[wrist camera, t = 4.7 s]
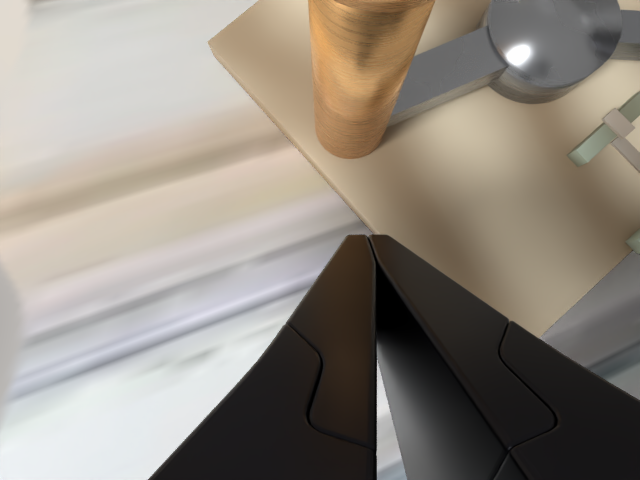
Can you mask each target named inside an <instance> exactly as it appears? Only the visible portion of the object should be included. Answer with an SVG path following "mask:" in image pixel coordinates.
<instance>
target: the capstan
mask: <svg viewBox="0 0 640 480" xmlns="http://www.w3.org/2000/svg"><path fill="white" fill-rule="evenodd" d="M435 1H436V0H308V9H309V27H310V45H311V63H312V81H313V99H314V117H315V131H316V135H317V138H318V140H319V142H320V144H321V145H322V146H323V147H324V148H325V149H326V150H327V151H328V152H329V153H331V154H332V155H334V156H337V157H339V158H343V159H357V158H361V157H363V156H366V155H368V154H369V153H371V152H372V151H373V150H374V149H375V148H376V147H377V146H378V145H379V143H380V142H381V140H382V137H383V135H384V132H385V130H386V127H389V126H391V125H393V124H396V123H398V122H400V121H403V120H405V119H407V118H410V117H412V116H414V115H417V114H419V113H421V112H424V111H426V110H428V109H431V108H433V107H435V106H438V105H440V104H442V103H445V102H447V101H449V100H452V99H454V98H456V97H459V96H461V95H463V94H466V93H468V92H470V91H473V90H475V89H477V88H480V87H482V86H484V85H488V86H489V87H490V88H492V89H493V90H494V91H495V92H497V93H498V94H500V95H501V96H503V97H505V98H507V99H510V100H512V101H515V102H519V103H525V104H541V103H547V102H550V101H553V100H556V99H558V98H560V97H562V96H564V95H565V94H567V93H568V92H569V91H571V90H572V89H573V88H574V87H576V86H577V85H578V84H579V83H581V82H582V81H583V80H584V79H586V78H587V77H588V76H589V75H591V74H592V73H593V72H594V71H596V70H597V69H598V68H599V67H601V66H602V65H603V64H604V63H605V62H606V61H607V60H608V59H618V60H635V61H640V11H636V10H620V6H619V4H618V1H617V0H491V1H490V3H489V5H488V7H487V8H486V10H485V12H484V14H483V15H482V17H481V19H480V20H479V22H478V24H477V26H476V28H475V31H473V32H471V33H468V34H466V35H464V36H461V37H459V38H456V39H454V40H452V41H449V42H447V43H445V44H442V45H440V46H437V47H435V48H433V49H430V50H428V51H426V52H423V53H421V54H418V55H416V56H414V55H415V52H416V50H417V47H418V44H419V42H420V39H421V37H422V34H423V32H424V29H425V26H426V24H427V21H428V19H429V16H430V13H431V11H432V8H433V6H434V3H435Z"/></svg>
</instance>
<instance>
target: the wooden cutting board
mask: <svg viewBox="0 0 640 480" xmlns="http://www.w3.org/2000/svg"><path fill="white" fill-rule="evenodd" d="M490 1H491V0H436V1H435V3H434V6H433V8H432V11H431V13H430V16H429V19H428V21H427V24H426V26H425V29H424V32H423V34H422V37H421V39H420V42H419V44H418V47H417V50H416V52H415V55H414V56H416V55H418V54H421V53H423V52H426V51H428V50H430V49H433V48H435V47H437V46H440V45H442V44H445V43H447V42H449V41H452V40H454V39H456V38H459V37H461V36H464V35H466V34H468V33H471V32H473V31H475V28H476V26H477V24H478V22H479V20H480V19H481V17H482V15H483V14H484V12H485V10H486V8H487V7H488V5H489V3H490ZM617 1H618V4H619V6H620V10H636V11H640V0H617ZM208 44H209V46H210V48H211V50H212V53H213V55H214V56H215V58H216V59H217V60H218V61H219V62H220V63H221V64H222V65H223V67H224V68H225V69H226V70H227V71H228V72H229V73H230V74H231V75H232V77H233V78H234V79H235V80H236V81H237V82H238V83H239V84H240V85H241V87H242V88H243V89H244V90H245V91H246V92H247V93H248V94H249V95H250V97H251V98H252V99H253V100H254V101H255V102H256V103H257V104H258V106H259V107H260V108H261V109H262V110H263V111H264V112H265V113H266V114H267V116H268V117H269V118H270V119H271V120H272V121H273V122H274V123H275V124H276V126H277V127H278V128H279V129H280V130H281V131H282V132H283V133H284V134H285V136H286V137H287V138H288V139H289V140H290V141H291V142H292V143H293V144H294V146H295V147H296V148H297V149H298V150H299V151H300V152H301V153H302V155H303V156H304V157H305V158H306V159H307V160H308V161H309V162H310V163H311V165H312V166H313V167H314V168H315V169H316V170H317V171H318V172H319V173H320V175H321V176H322V177H323V178H324V179H325V180H326V181H327V182H328V183H329V185H330V186H331V187H332V188H333V189H334V190H335V191H336V192H337V193H338V195H339V196H340V197H341V198H342V199H343V200H344V201H345V202H346V204H347V205H348V206H349V207H350V208H351V209H352V210H353V211H354V212H355V214H356V215H357V216H358V217H359V218H360V219H361V220H362V221H363V222H364V224H365V225H366V226H367V227H368V228H369V229H370V230H371V231H372V232H373V234H374V235H376V234H387V235H389V236H391V237H392V238H394V239H395V240H396V241H398V242H399V243H401V244H402V245H404V246H405V247H407V248H408V249H409V250H411V251H412V252H414V253H415V254H417V255H418V256H419V257H421V258H422V259H424V260H425V261H427V262H428V263H430V264H431V265H432V266H434V267H435V268H437V269H438V270H440V271H441V272H442V273H444V274H445V275H447V276H448V277H450V278H451V279H453V280H454V281H455V282H457V283H458V284H460V285H461V286H463V287H464V288H465V289H467V290H468V291H470V292H471V293H473V294H474V295H476V296H477V297H478V298H480V299H481V300H483V301H484V302H486V303H487V304H488V305H490V306H491V307H493V308H494V309H496V310H497V311H499V312H500V313H501V314H503V315H504V316H506V317H507V318H508V319H509V322H510V321H514V322H516V323H517V324H519V325H520V326H521V327H523V328H524V329H526V330H527V331H529V332H530V333H532V334H533V335H535V336H536V337H538V338H539V337H541V336H542V335H543V334H544V333H545V332H546V331H547V330H548V329H549V328H550V327H551V326H552V325H553V324H554V323H556V322H557V321H558V320H559V319H560V318H561V317H562V316H563V315H564V314H565V313H566V312H567V311H568V310H569V309H570V308H572V307H573V306H574V305H575V304H576V303H577V302H578V301H579V300H580V299H581V298H582V297H583V296H584V295H585V294H587V293H588V292H589V291H590V290H591V289H592V288H593V287H594V286H595V285H596V284H597V283H598V282H599V281H600V280H602V279H603V278H604V277H605V276H606V275H607V274H608V273H609V272H610V271H611V270H612V269H613V268H614V267H615V266H616V265H618V264H619V263H620V262H621V261H622V260H623V259H624V258H625V257H626V256H627V255H628V254H629V253H630V252H631V251H634V252H635V253H636V254H640V61H635V60H618V59H608V60H607V61H606V62H605V63H604V64H603V65H602V66H601V67H599V68H598V69H597V70H596V71H594V72H593V73H592V74H591V75H589V76H588V77H587V78H586V79H584V80H583V81H582V82H581V83H579V84H578V85H577V86H576V87H574V88H573V89H572V90H571V91H569V92H568V93H567V94H565V95H564V96H562V97H560V98H558V99H556V100H553V101H550V102H547V103H541V104H525V103H519V102H515V101H512V100H510V99H507V98H505V97H503V96H501V95H500V94H498V93H497V92H495V91H494V90H493V89H492V88H490V87H489V86H488V85H484V86H482V87H480V88H477V89H475V90H473V91H470V92H468V93H466V94H463V95H461V96H459V97H456V98H454V99H452V100H449V101H447V102H445V103H442V104H440V105H438V106H435V107H433V108H431V109H428V110H426V111H424V112H421V113H419V114H417V115H414V116H412V117H410V118H407V119H405V120H403V121H400V122H398V123H396V124H393V125H391V126H389V127H386V130H385V132H384V135H383V137H382V140H381V142H380V143H379V145H378V146H377V147H376V148H375V149H374V150H373V151H372V152H371V153H369V154H368V155H366V156H363V157H361V158H357V159H343V158H339V157H337V156H334V155H332V154H331V153H329V152H328V151H327V150H326V149H325V148H324V147H323V146H322V145H321V144H320V142H319V140H318V138H317V135H316V131H315V117H314V99H313V81H312V63H311V45H310V27H309V9H308V0H259V1H258V2H256V3H255V4H254V5H253V6H251V7H250V8H249V9H248V10H246V11H245V12H244V13H243V14H241V15H240V16H239V17H238V18H236V19H235V20H234V21H233V22H232V23H230V24H229V25H228V26H227V27H225V28H224V29H223V30H222V31H220V32H219V33H218V34H217V35H215V36H214V37H213V38H212V39H210V40H209V41H208Z"/></svg>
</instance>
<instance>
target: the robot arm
mask: <svg viewBox="0 0 640 480" xmlns="http://www.w3.org/2000/svg"><path fill="white" fill-rule="evenodd" d="M377 359H378V363H379V367H380V371H381V375H382V380H383V384H384V388H385V392H386V396H387V400H388V404H389V408H390V412H391V416H392V420H393V424H394V428H395V432H396V436H397V440H398V444H399V448H400V452H401V456H402V460H403V464H404V468H405V472H406V476H407V480H640V400H638V399H637V398H635V397H633V396H631V395H630V394H628V393H626V392H625V391H623V390H621V389H620V388H618V387H616V386H614V385H613V384H611V383H609V382H608V381H606V380H604V379H603V378H601V377H599V376H598V375H596V374H594V373H593V372H591V371H590V370H588V369H586V368H585V367H583V366H581V365H580V364H578V363H576V362H575V361H573V360H572V359H570V358H568V357H567V356H565V355H563V354H562V353H560V352H559V351H557V350H556V349H554V348H553V347H551V346H550V345H548V344H547V343H545V342H544V341H542V340H541V339H539V338H538V337H536V336H535V335H533V334H532V333H530V332H529V331H527V330H526V329H524V328H523V327H521V326H520V325H519V324H517V323H516V322H514V321H510V322H509V319H508V318H507V317H506V316H504V315H503V314H501V313H500V312H499V311H497V310H496V309H494V308H493V307H491V306H490V305H488V304H487V303H486V302H484V301H483V300H481V299H480V298H478V297H477V296H476V295H474V294H473V293H471V292H470V291H468V290H467V289H465V288H464V287H463V286H461V285H460V284H458V283H457V282H455V281H454V280H453V279H451V278H450V277H448V276H447V275H445V274H444V273H442V272H441V271H440V270H438V269H437V268H435V267H434V266H432V265H431V264H430V263H428V262H427V261H425V260H424V259H422V258H421V257H419V256H418V255H417V254H415V253H414V252H412V251H411V250H409V249H408V248H407V247H405V246H404V245H402V244H401V243H399V242H398V241H396V240H395V239H394V238H392V237H391V236H389V235H387V234H376V235H369V236H368V237H367V236H366V235H348V236H346V238H345V239H344V241H343V242H342V243H341V245H340V246H339V248H338V249H337V251H336V252H335V253H334V255H333V256H332V258H331V259H330V261H329V262H328V263H327V265H326V266H325V268H324V269H323V271H322V272H321V273H320V275H319V276H318V278H317V279H316V281H315V282H314V284H313V285H312V286H311V288H310V289H309V291H308V292H307V294H306V295H305V296H304V298H303V299H302V301H301V302H300V304H299V305H298V306H297V308H296V309H295V311H294V312H293V314H292V315H291V316H290V318H289V319H288V321H287V322H286V325H284V326H283V327H282V328H281V330H280V331H279V333H278V334H277V335H276V337H275V338H274V340H273V341H272V342H271V344H270V345H269V346H268V348H267V349H266V350H265V352H264V353H263V354H262V355H261V357H260V358H259V359H258V361H257V362H256V363H255V364H254V365H253V366H252V367H251V369H250V370H249V371H248V372H247V373H246V374H245V375H244V377H243V378H242V379H241V380H240V381H239V382H238V383H237V384H236V386H235V387H234V388H233V389H232V390H231V391H230V392H229V393H228V394H227V395H226V396H225V397H224V398H223V400H222V401H221V402H220V403H219V404H218V405H217V406H216V407H215V408H214V409H213V410H212V411H211V412H210V413H209V415H208V416H207V417H206V418H205V419H204V420H203V421H202V422H201V423H200V424H199V425H198V426H197V427H196V428H195V430H194V431H193V432H192V433H191V434H190V435H189V436H188V437H187V438H186V439H185V440H184V441H183V442H182V444H181V445H180V446H179V447H178V448H177V449H176V450H175V451H174V452H173V453H172V454H171V455H170V456H169V457H168V459H167V460H166V461H165V462H164V463H163V464H162V465H161V466H160V467H159V468H158V469H157V470H156V471H155V472H154V474H153V475H152V476H151V477H150V478H149V479H148V480H377V456H376V452H377Z"/></svg>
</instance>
